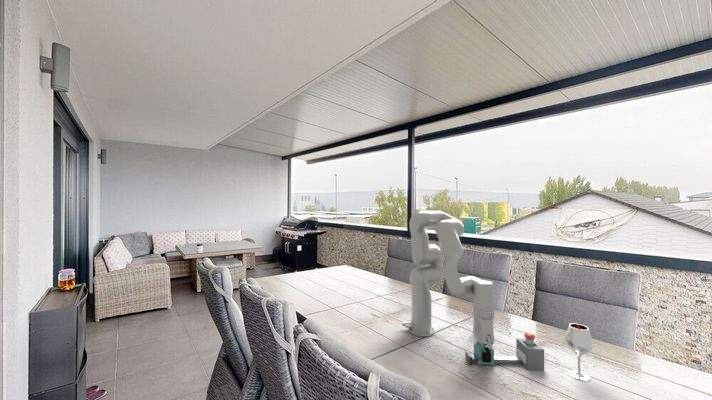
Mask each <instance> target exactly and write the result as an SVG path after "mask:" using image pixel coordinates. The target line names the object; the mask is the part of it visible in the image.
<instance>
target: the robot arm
mask: <svg viewBox="0 0 712 400" xmlns="http://www.w3.org/2000/svg"><path fill="white" fill-rule="evenodd" d="M408 225H409V232H410V237H411V238H410V239H411V241H410V243H411V257H412V258H411V259H412V262H413V263H414V264H415V265H421V266H420V267H419V266H418V267H415V268H413V269H412V270H411V271H410V272H409V283H410V288H411V319H410V321H408V322H407V321H402V322H401V324H402V325H401V326H402V327H405V328H406V329H407V328H408V331H409V333H410V334H411V335H414V336H417V337H421V338H423V337H425V338H426V337H427V338H428V337H432V336H433V335H434V334H435V328H434V327H432V293H431V291H430V289H429V286H433V285H434V286H435V285H438V284H439V283H441V281H442V280H443V278H444V281H445V283H446V286H447V287H448V289H449V292H450V293H451V294H452V295H453V296H454V297H456V298H463V297H464V298H465V297H467V296H471V295H473V323H472V324H473V326H472V335H473V337H474V338H475V339H476V343H480V344H481V345H483V351H482V361H483V362H491V350H492V349H494V348H493V345H494V339H495V337H494V333H495V332H494V333H493V320H492V319H493V318H495V288H494V287H495V286H494V283H493V282H492V281H490V280H485V279H481V278H478V277H475V276H473V275H467V276H462V277H460V275H459V271H458V266H457V265H458V261H459V259H460V257H461V256H462V255H463V254H464V250H465V249H464V247H463V244H462V243H461V240H460V237H461V236H462V235H463V234H464V232H465V227H464V224H463V223H462V222H461V220H459V219H457V218H456V217H453V216H451V215H450V214H447V213H446V212H443V211H441V210H420V211H417V212H415V213H413V214H412V215H411V217H410V218H409V224H408ZM426 229H434V231H435V234H436V237H437V239H438V242H439V244H440V247H441V249H440V248H439V246H437V245H436V244H435V243H434V244H433V243H430V242H429V235H428V232H427V230H426ZM441 250H442V251H441ZM442 253H443V254H444V260H443V256H442ZM422 265H426V266H422ZM485 345H488V346H487V347H486V348H485Z"/></svg>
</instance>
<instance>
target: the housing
mask: <svg viewBox="0 0 712 400" xmlns="http://www.w3.org/2000/svg"><path fill="white" fill-rule="evenodd" d="M515 340H516V342H515V343H516V344H515V345H516V346H515V347H516V349H515V350H516V351H515V352H516V356H515V357H520V358H521V359H522V360H523V362H524V365H523V367H525V369H526V370H527V371H540V372H542V371H543V372H544V371H545V349H544V347H542V346H541V345H539V343H538V342H536V341H535V340H534V346H527V345H526V337H524V338H523V337H522V338H520V337H516V339H515Z"/></svg>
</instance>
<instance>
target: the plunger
mask: <svg viewBox="0 0 712 400" xmlns="http://www.w3.org/2000/svg"><path fill="white" fill-rule="evenodd" d="M523 335H524V338H526V345H527V346H534V341H535V339H536V336H535V334H534V333H531V332H525V333H524V334H523Z"/></svg>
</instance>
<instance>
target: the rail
mask: <svg viewBox="0 0 712 400" xmlns="http://www.w3.org/2000/svg"><path fill="white" fill-rule="evenodd" d="M464 352H465V353H464V354H465V360H466V362H467V364H468V365H469V366H473V365H479V364H478V358H477V357H476V355H474V354H471V352H470V351H469V350H465V351H464ZM494 365H495V366H496V365H498V366H499V365H500V366H501V365H503V366H524V362H523V360H522V359H521V358H520V357H516V356H505V355H494Z"/></svg>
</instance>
